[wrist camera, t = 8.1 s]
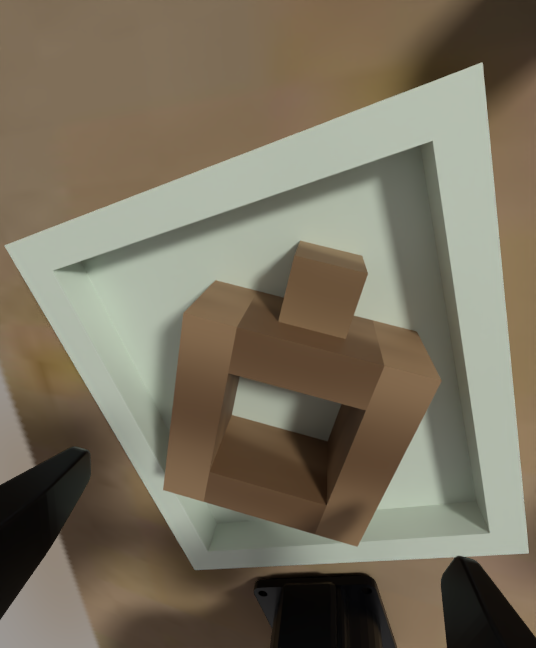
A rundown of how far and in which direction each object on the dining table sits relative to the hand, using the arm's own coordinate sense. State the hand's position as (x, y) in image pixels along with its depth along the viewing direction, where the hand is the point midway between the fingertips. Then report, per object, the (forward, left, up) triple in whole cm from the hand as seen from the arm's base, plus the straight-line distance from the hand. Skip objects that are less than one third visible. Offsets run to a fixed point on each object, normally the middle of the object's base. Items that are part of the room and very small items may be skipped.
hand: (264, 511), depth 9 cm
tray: (0, 0, -6) cm, 6 cm away
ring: (+1, -1, -6) cm, 6 cm away
